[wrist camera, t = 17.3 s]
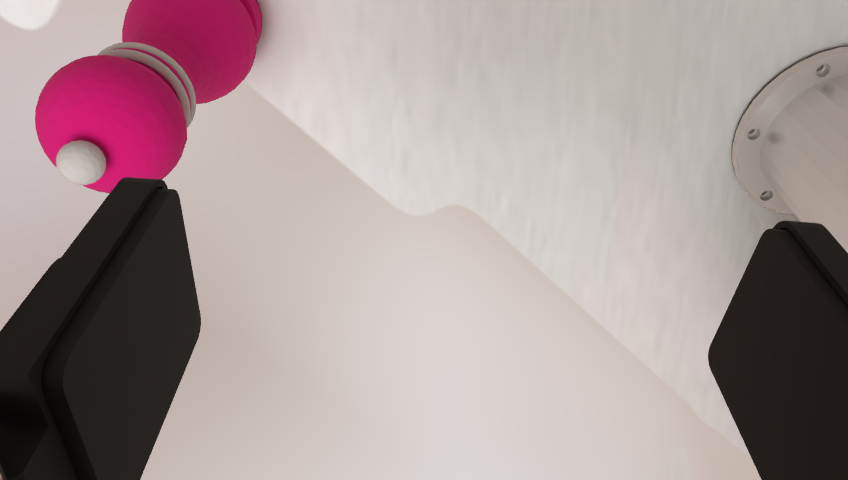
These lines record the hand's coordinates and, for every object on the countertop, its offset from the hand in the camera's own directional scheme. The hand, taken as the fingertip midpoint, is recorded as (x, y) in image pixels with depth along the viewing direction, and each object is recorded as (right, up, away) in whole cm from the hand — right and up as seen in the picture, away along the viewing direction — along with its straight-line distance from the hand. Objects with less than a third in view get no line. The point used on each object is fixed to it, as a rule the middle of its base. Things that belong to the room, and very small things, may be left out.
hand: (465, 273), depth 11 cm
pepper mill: (-14, +15, +31) cm, 37 cm away
